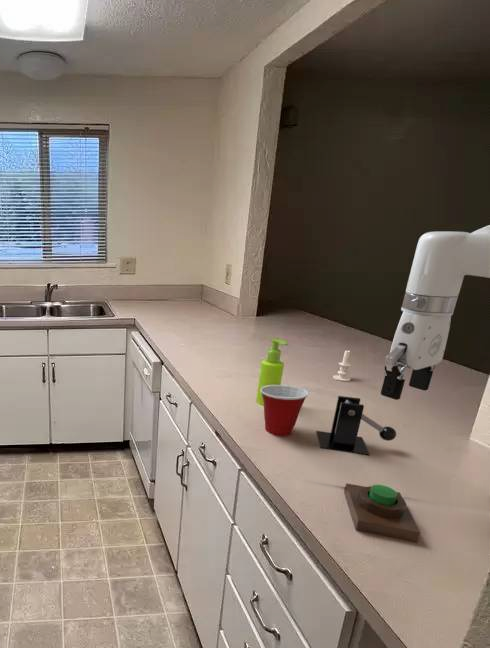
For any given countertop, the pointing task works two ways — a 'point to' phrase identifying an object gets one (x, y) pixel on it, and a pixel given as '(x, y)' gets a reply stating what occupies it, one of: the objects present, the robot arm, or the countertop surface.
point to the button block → (380, 515)
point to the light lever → (379, 427)
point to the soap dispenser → (271, 368)
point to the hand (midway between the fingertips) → (404, 392)
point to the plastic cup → (282, 407)
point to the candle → (343, 368)
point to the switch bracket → (345, 428)
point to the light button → (383, 494)
